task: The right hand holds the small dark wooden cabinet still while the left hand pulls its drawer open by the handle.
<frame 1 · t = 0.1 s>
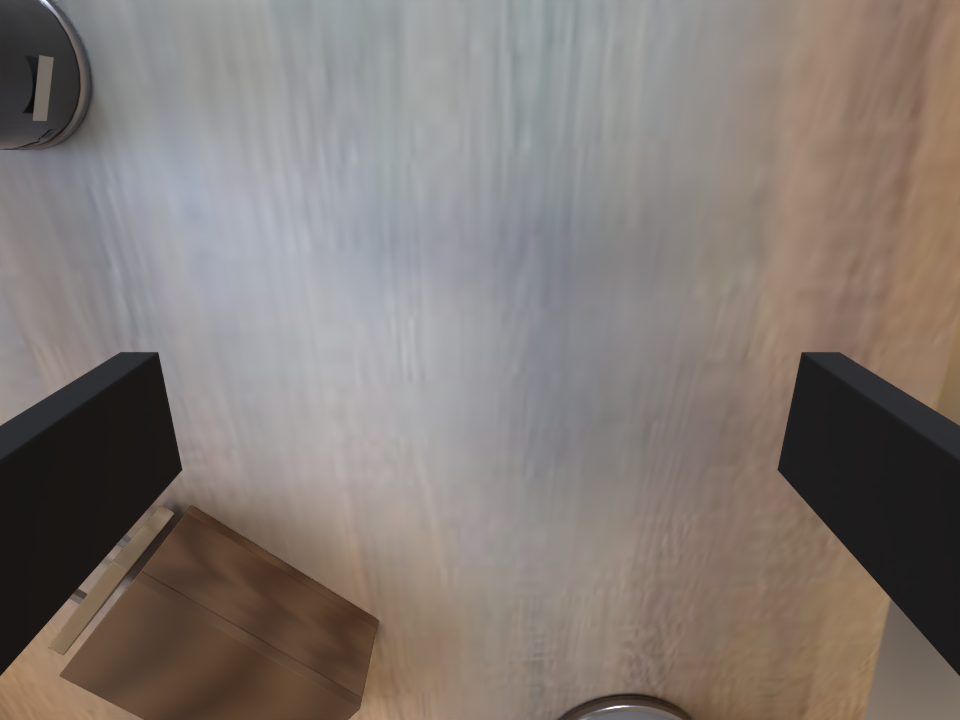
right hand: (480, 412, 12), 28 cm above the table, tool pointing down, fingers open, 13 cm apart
cabinet: (253, 605, 50), on the table
drawer: (175, 612, 45), point 4 cm above the table, slide at 0.6 cm
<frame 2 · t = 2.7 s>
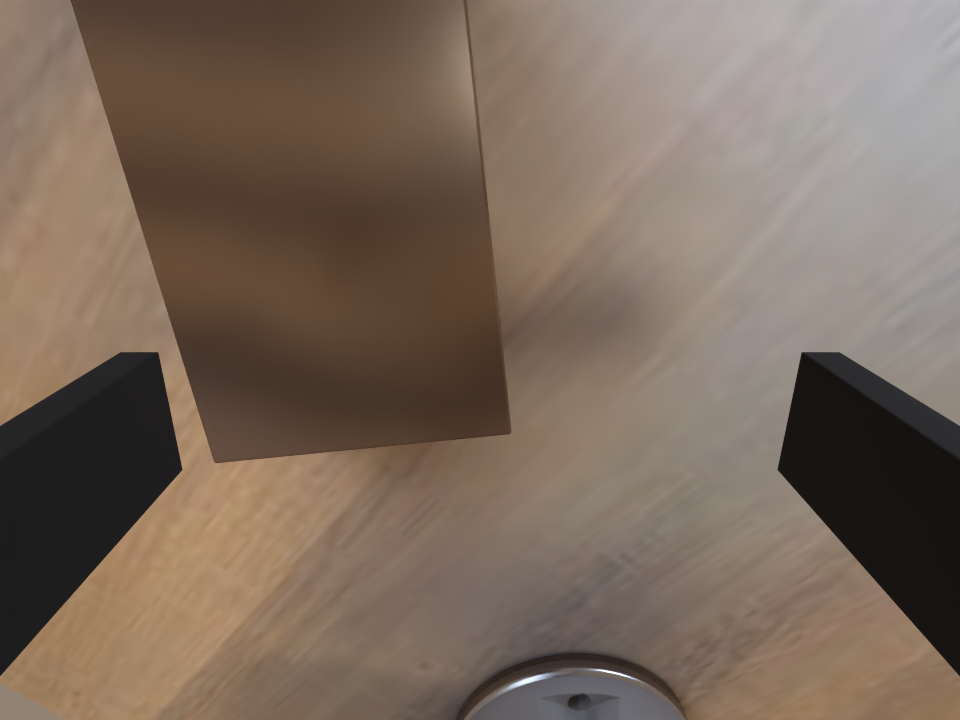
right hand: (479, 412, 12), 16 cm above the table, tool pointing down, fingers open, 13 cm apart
cabinet: (359, 175, 26), on the table
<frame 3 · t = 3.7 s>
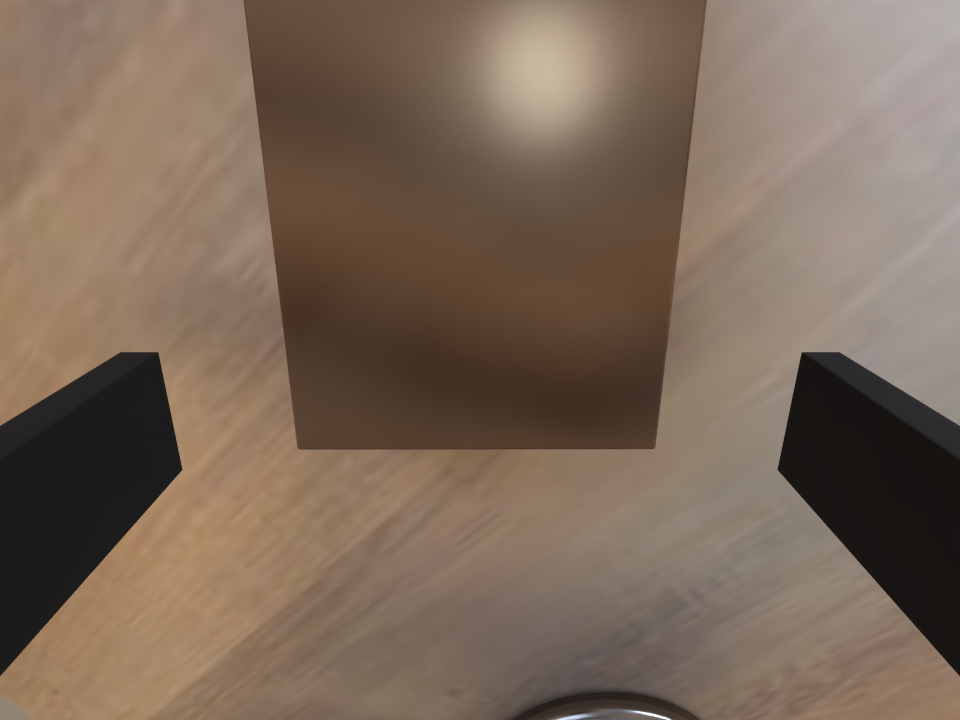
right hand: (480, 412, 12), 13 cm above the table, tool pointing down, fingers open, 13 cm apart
cabinet: (476, 135, 23), on the table
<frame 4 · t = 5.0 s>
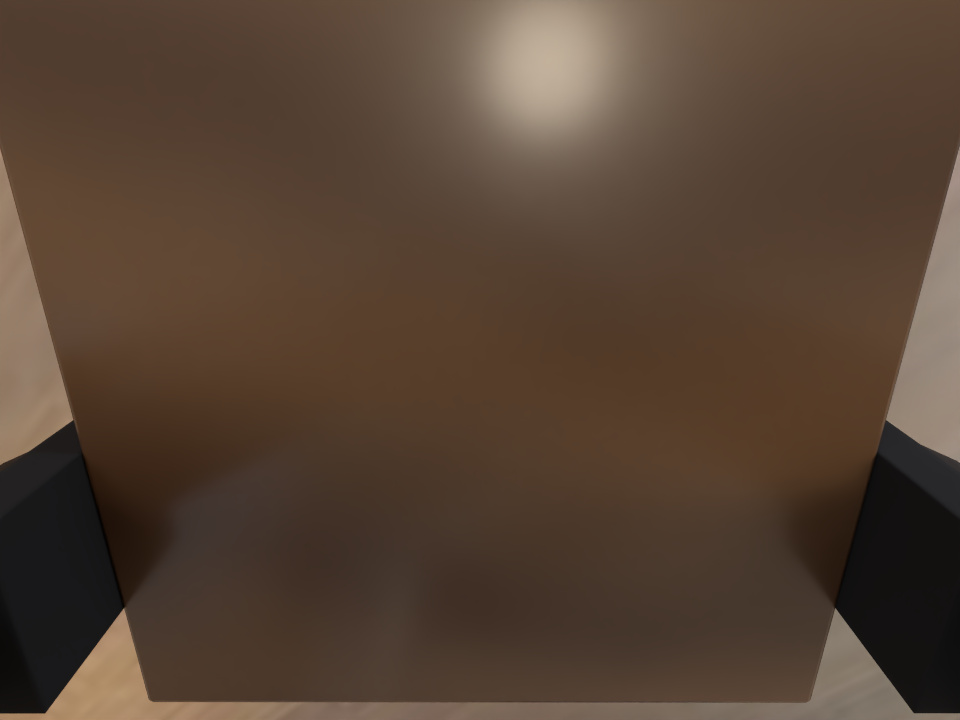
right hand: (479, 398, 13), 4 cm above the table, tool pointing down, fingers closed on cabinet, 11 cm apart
cabinet: (480, 123, 14), on the table, touching right hand
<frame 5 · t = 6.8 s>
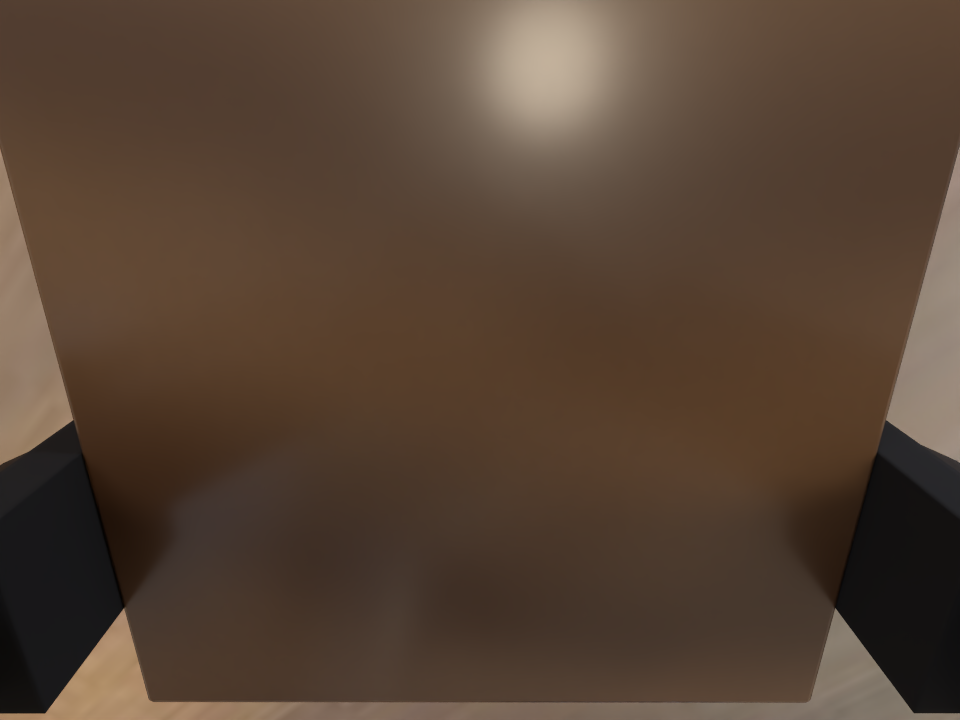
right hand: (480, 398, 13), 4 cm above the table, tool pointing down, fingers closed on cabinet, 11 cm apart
cabinet: (479, 123, 14), on the table, touching right hand
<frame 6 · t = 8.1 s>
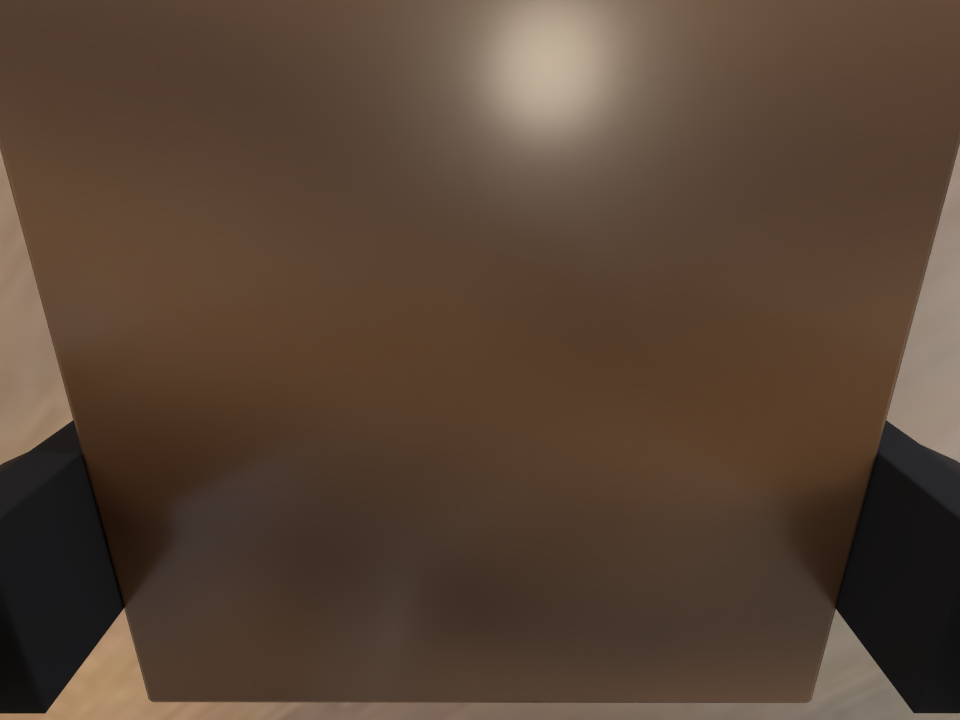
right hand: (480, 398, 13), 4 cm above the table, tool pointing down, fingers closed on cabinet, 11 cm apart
cabinet: (480, 123, 14), on the table, touching right hand
when the right hand's fingers open (4 cm above the table, at t = 9.8 s): cabinet stays where it is, on the table.
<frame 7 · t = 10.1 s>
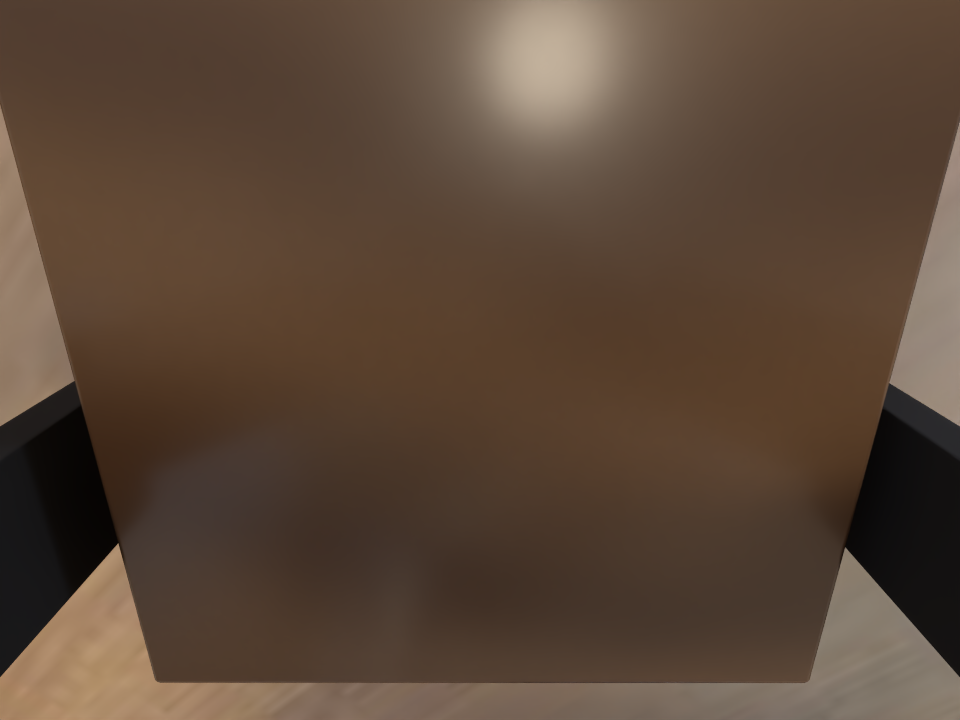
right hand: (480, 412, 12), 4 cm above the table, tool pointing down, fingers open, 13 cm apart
cabinet: (481, 112, 14), on the table
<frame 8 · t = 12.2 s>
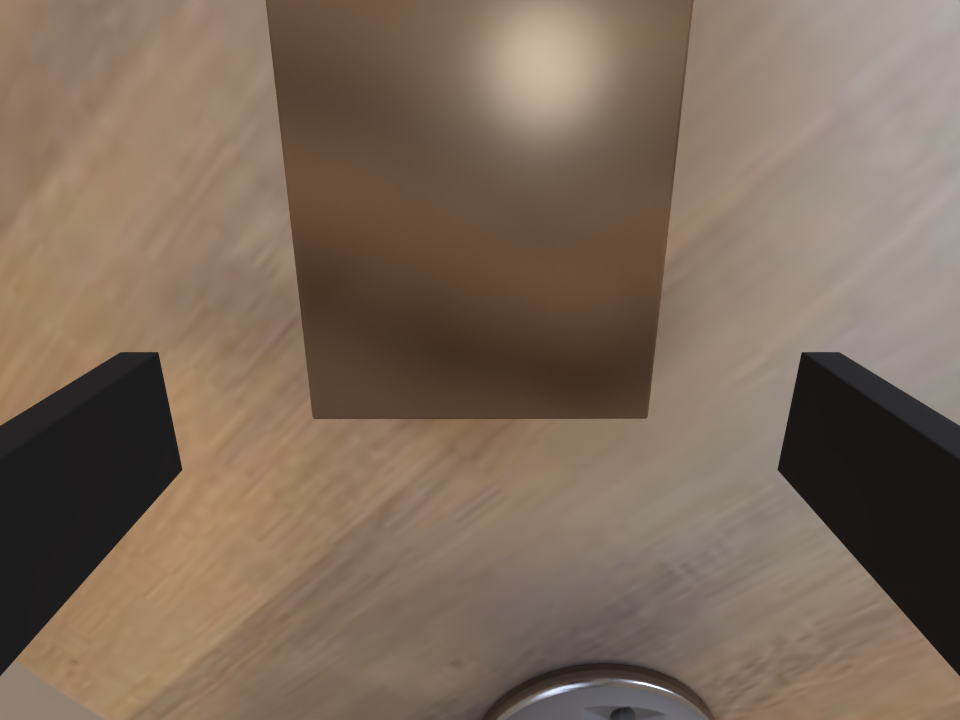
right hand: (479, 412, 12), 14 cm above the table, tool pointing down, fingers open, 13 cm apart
cabinet: (479, 125, 24), on the table
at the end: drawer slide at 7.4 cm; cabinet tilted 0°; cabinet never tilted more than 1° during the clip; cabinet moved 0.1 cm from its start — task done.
